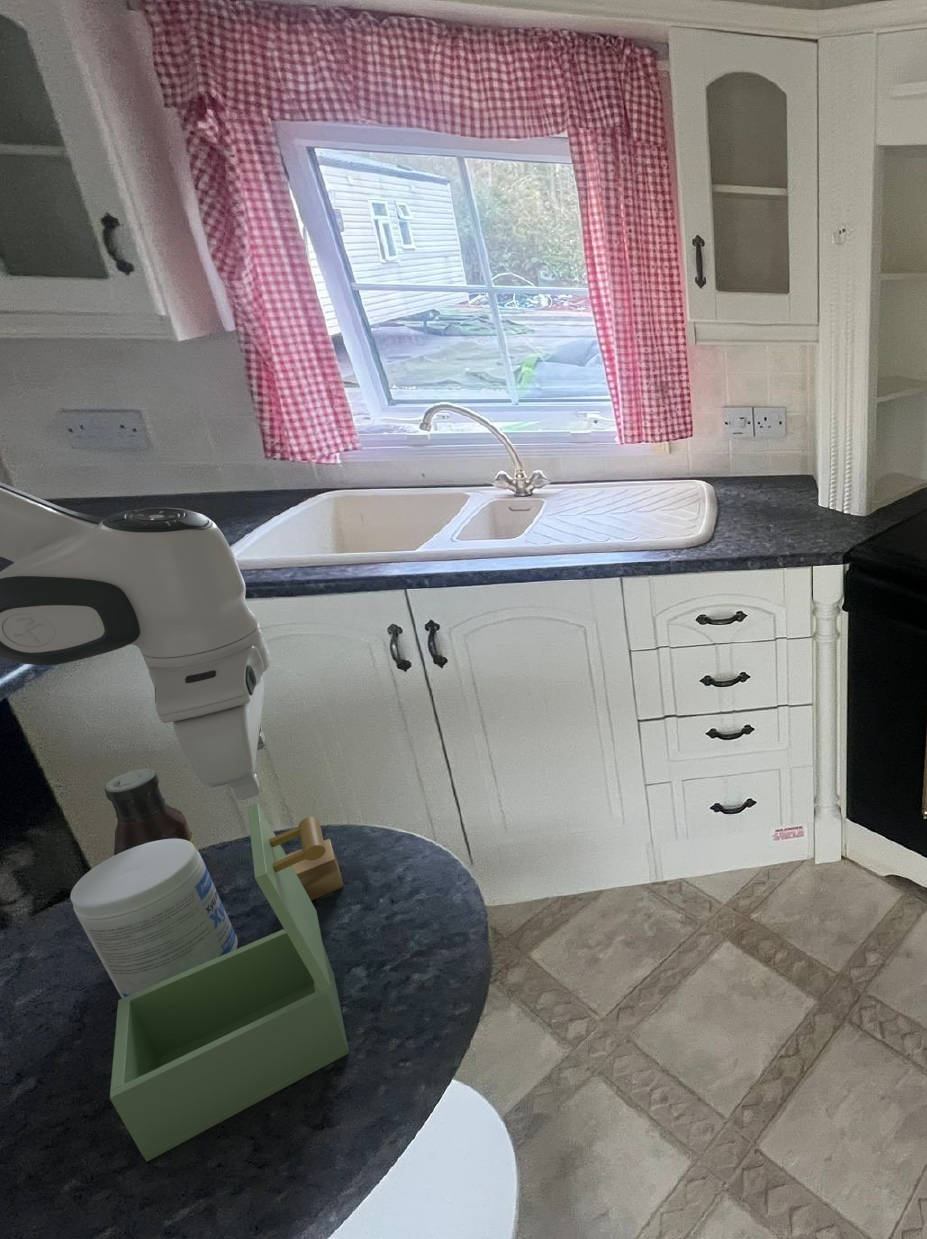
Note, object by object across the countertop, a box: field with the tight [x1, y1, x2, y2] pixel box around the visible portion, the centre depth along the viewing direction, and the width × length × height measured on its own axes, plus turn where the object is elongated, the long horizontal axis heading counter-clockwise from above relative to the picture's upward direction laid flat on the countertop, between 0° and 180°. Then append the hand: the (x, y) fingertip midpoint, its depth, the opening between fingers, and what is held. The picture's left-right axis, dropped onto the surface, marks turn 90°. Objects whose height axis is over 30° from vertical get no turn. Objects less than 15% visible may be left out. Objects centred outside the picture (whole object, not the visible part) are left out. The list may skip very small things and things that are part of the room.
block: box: [286, 838, 344, 901], centre depth 92 cm, size 5×5×5 cm
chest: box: [109, 928, 350, 1162], centre depth 72 cm, size 15×12×9 cm
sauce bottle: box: [104, 768, 199, 856], centre depth 85 cm, size 6×6×20 cm
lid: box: [247, 802, 330, 992], centre depth 73 cm, size 15×12×5 cm
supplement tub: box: [69, 839, 239, 999], centre depth 79 cm, size 10×10×15 cm
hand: (253, 770), depth 81 cm, fingers open, 8 cm apart
